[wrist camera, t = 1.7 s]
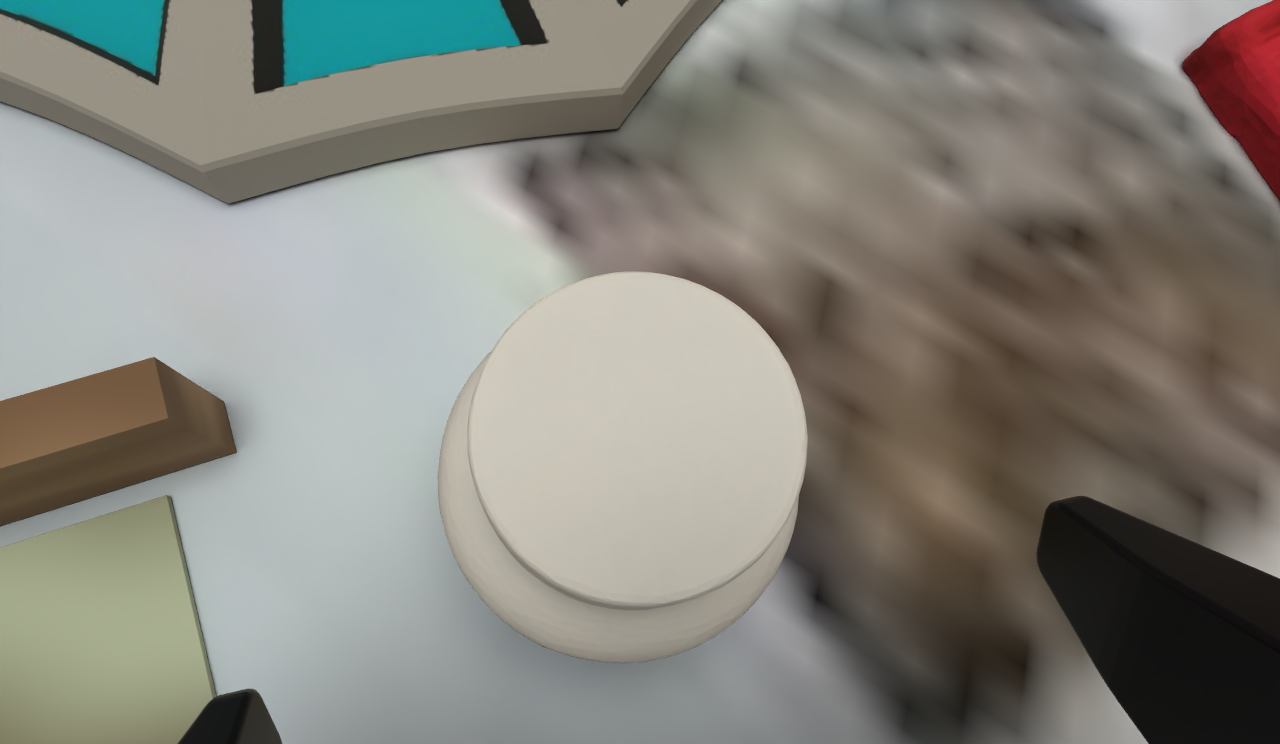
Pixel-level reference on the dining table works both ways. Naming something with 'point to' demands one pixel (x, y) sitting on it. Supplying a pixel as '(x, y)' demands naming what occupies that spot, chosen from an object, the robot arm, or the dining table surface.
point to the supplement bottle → (624, 468)
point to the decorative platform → (329, 77)
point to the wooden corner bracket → (102, 561)
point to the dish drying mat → (1245, 84)
